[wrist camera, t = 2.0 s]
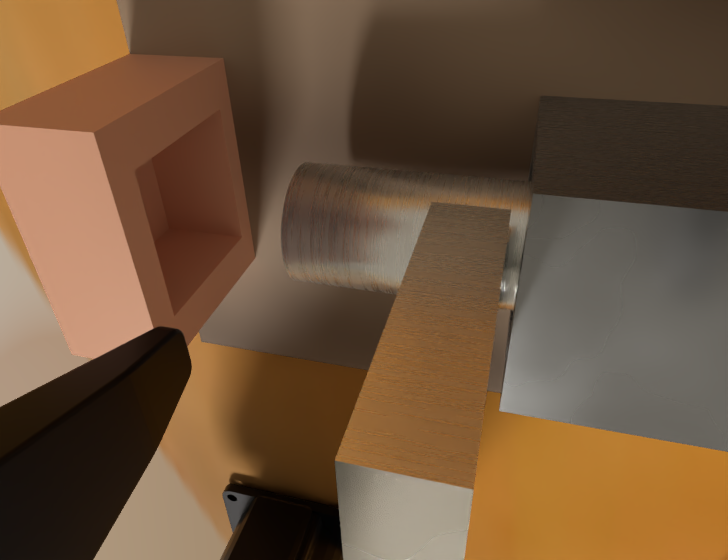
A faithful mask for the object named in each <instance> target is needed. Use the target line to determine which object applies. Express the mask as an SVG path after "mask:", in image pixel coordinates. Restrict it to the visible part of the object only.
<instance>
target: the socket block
mask: <svg viewBox="0 0 728 560" xmlns="http://www.w3.org/2000/svg"><path fill="white" fill-rule="evenodd" d="M0 187H1V189H2V191H3V194H4V196H5V198H6V201H7V203H8V205H9V208H10V210H11V213H12V215H13V217H14V220H15V222H16V224H17V227H18V229H19V231H20V234H21V236H22V238H23V241H24V243H25V245H26V248H27V250H28V252H29V255H30V257H31V259H32V262H33V264H34V267H35V269H36V271H37V274H38V276H39V278H40V281H41V283H42V285H43V288H44V290H45V292H46V295H47V297H48V299H49V302H50V304H51V306H52V309H53V311H54V313H55V316H56V318H57V320H58V323H59V325H60V327H61V330H62V332H63V335H64V337H65V339H66V342H67V344H68V346H69V348H70V351H71V353H72V355H77V356H82V357H87V358H93V359H95V358H97V357H99V356H101V355H103V354H105V353H107V352H109V351H110V350H112V349H114V348H116V347H118V346H120V345H122V344H124V343H126V342H128V341H130V340H132V339H134V338H136V337H138V336H140V335H142V334H144V333H146V332H147V331H149V330H151V329H153V328H156V327H159V326H164V327H170V328H176V329H179V330H181V331H182V332H183V334H184V337H185V340H186V344H187V346H188V345H189V343H190V342H191V341H192V339H193V338H194V337H195V336H196V334H197V333H198V332H199V330H200V329H201V328H202V327H203V325H204V324H205V323H206V321H207V320H208V319H209V317H210V316H211V315H212V314H213V312H214V311H215V310H216V308H217V307H218V306H219V304H220V303H221V302H222V301H223V299H224V298H225V297H226V295H227V294H228V293H229V292H230V290H231V289H232V288H233V286H234V285H235V284H236V282H237V281H238V280H239V279H240V277H241V276H242V275H243V273H244V272H245V271H246V270H247V268H248V267H249V266H250V264H251V263H252V262H253V260H254V259H255V252H254V246H253V240H252V234H251V227H250V221H249V215H248V209H247V202H246V196H245V190H244V184H243V178H242V171H241V165H240V159H239V153H238V146H237V140H236V134H235V128H234V121H233V115H232V109H231V103H230V97H229V90H228V84H227V78H226V72H225V65H224V59H223V58H209V57H187V56H165V55H144V54H129V55H126V56H124V57H122V58H119V59H117V60H115V61H113V62H110V63H108V64H106V65H103V66H101V67H99V68H97V69H94V70H92V71H90V72H88V73H85V74H83V75H81V76H78V77H76V78H74V79H72V80H69V81H67V82H65V83H62V84H60V85H58V86H56V87H53V88H51V89H49V90H46V91H44V92H42V93H40V94H37V95H35V96H33V97H30V98H28V99H26V100H24V101H21V102H19V103H17V104H15V105H12V106H10V107H8V108H5V109H3V110H1V111H0Z"/></svg>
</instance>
